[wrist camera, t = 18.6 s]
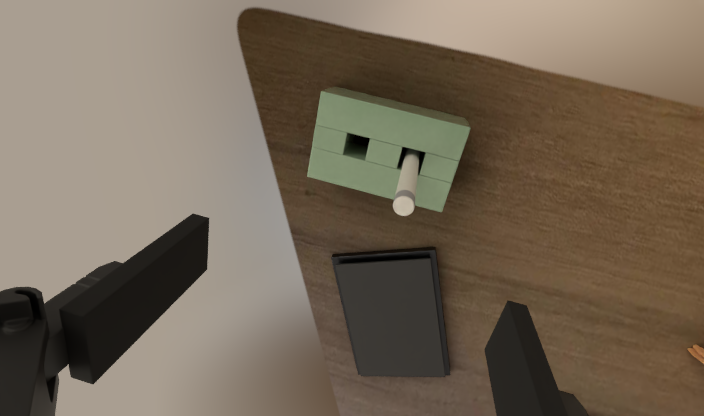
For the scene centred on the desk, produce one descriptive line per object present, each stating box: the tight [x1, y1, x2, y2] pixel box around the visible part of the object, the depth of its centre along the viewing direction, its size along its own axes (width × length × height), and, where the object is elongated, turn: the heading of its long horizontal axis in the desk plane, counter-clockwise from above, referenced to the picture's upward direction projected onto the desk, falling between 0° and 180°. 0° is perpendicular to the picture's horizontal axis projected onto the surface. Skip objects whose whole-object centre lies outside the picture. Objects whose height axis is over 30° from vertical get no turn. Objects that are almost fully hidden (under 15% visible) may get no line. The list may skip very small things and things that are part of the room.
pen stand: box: [307, 86, 471, 212], centre depth 36 cm, size 8×13×5 cm, turn 78°
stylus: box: [393, 148, 420, 216], centre depth 31 cm, size 1×1×15 cm
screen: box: [335, 258, 445, 377], centre depth 45 cm, size 17×11×1 cm, turn 11°
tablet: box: [331, 247, 450, 375], centre depth 46 cm, size 18×12×1 cm, turn 11°
